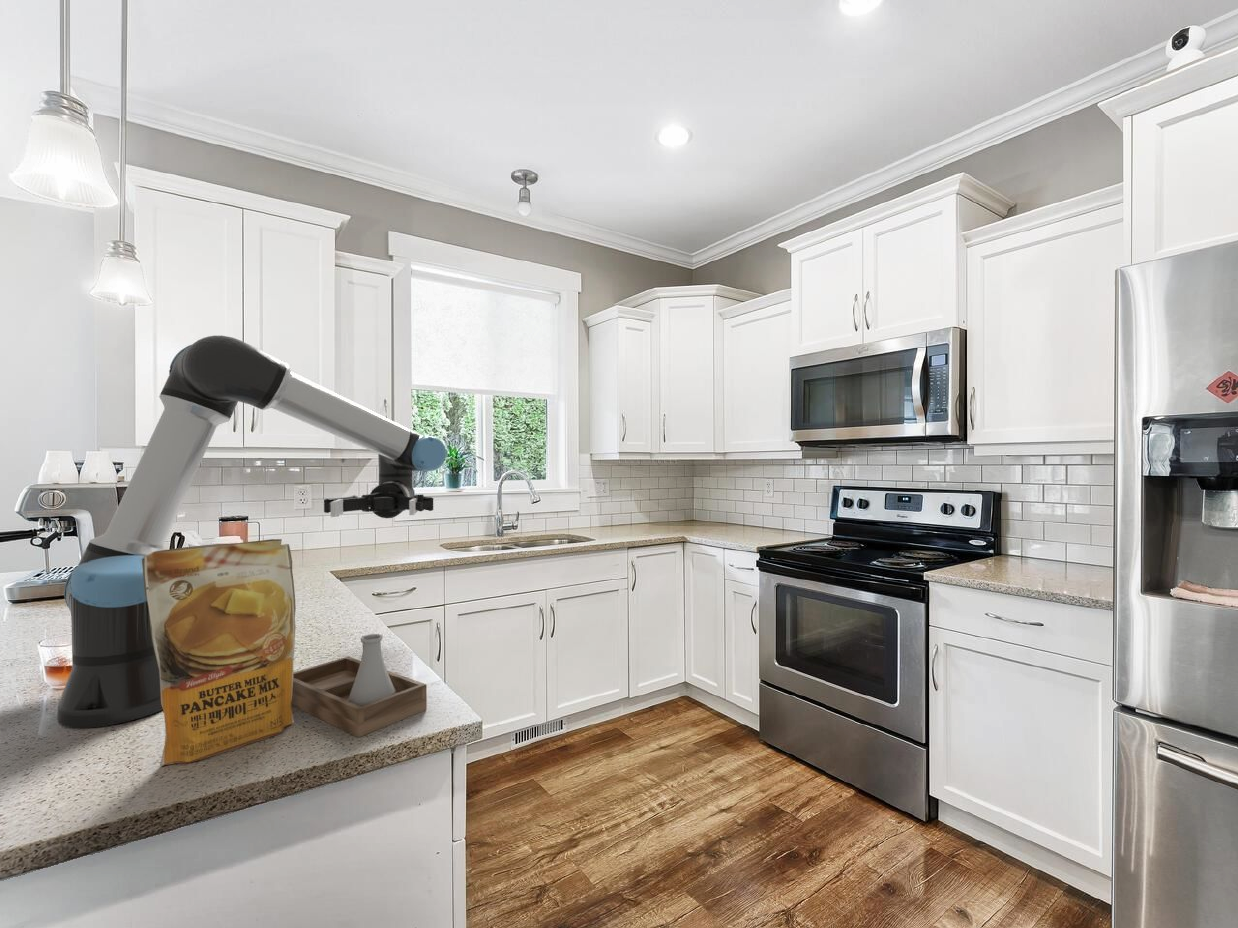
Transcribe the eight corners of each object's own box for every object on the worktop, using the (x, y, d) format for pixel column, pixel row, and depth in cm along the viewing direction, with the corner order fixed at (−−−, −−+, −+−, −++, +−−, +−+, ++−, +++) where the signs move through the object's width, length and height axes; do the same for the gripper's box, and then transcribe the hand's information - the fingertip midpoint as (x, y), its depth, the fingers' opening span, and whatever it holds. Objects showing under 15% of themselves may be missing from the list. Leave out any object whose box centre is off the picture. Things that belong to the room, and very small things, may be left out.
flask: (348, 713, 90) (348, 646, 89) (345, 696, 96) (344, 633, 96) (400, 704, 93) (399, 639, 93) (393, 687, 99) (392, 627, 99)
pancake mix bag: (138, 760, 80) (135, 549, 80) (291, 712, 95) (289, 534, 94) (151, 777, 76) (148, 555, 75) (309, 725, 90) (307, 538, 90)
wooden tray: (426, 709, 96) (426, 684, 96) (358, 737, 86) (358, 709, 86) (348, 678, 109) (348, 656, 109) (281, 699, 99) (281, 675, 99)
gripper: (449, 515, 135) (443, 527, 114) (328, 518, 129) (299, 531, 109) (448, 481, 135) (442, 487, 114) (327, 483, 129) (298, 489, 109)
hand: (372, 508), depth 111 cm, fingers open, 13 cm apart
